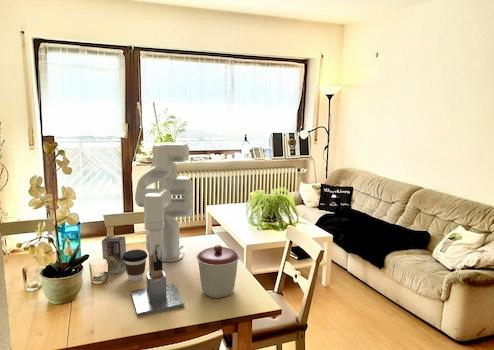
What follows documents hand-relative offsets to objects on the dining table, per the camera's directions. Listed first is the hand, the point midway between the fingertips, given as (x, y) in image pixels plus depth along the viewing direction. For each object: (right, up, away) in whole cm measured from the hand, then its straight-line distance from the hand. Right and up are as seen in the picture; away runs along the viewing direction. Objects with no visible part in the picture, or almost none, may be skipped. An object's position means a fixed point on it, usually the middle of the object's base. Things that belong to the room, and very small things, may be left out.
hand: (155, 265), depth 153 cm
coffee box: (-26, -10, +30) cm, 41 cm away
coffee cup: (-14, -11, +22) cm, 29 cm away
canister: (+24, -14, +11) cm, 30 cm away
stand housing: (0, -15, +3) cm, 16 cm away
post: (0, -13, +3) cm, 14 cm away
